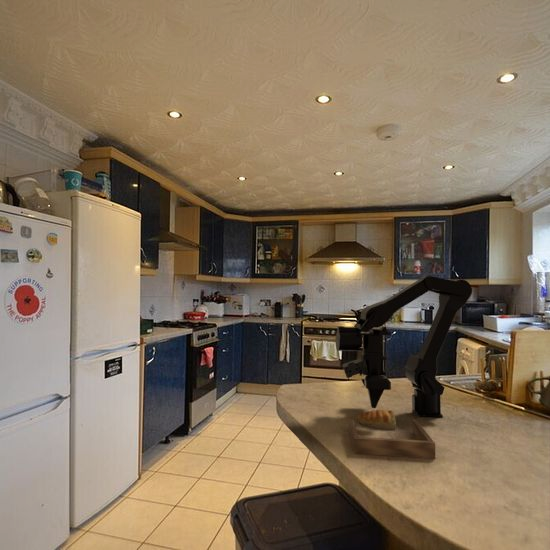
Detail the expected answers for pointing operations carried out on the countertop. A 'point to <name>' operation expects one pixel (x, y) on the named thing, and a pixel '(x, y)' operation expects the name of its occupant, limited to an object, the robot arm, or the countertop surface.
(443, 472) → the countertop surface
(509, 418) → the countertop surface
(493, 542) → the countertop surface
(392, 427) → the pastry
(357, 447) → the box
